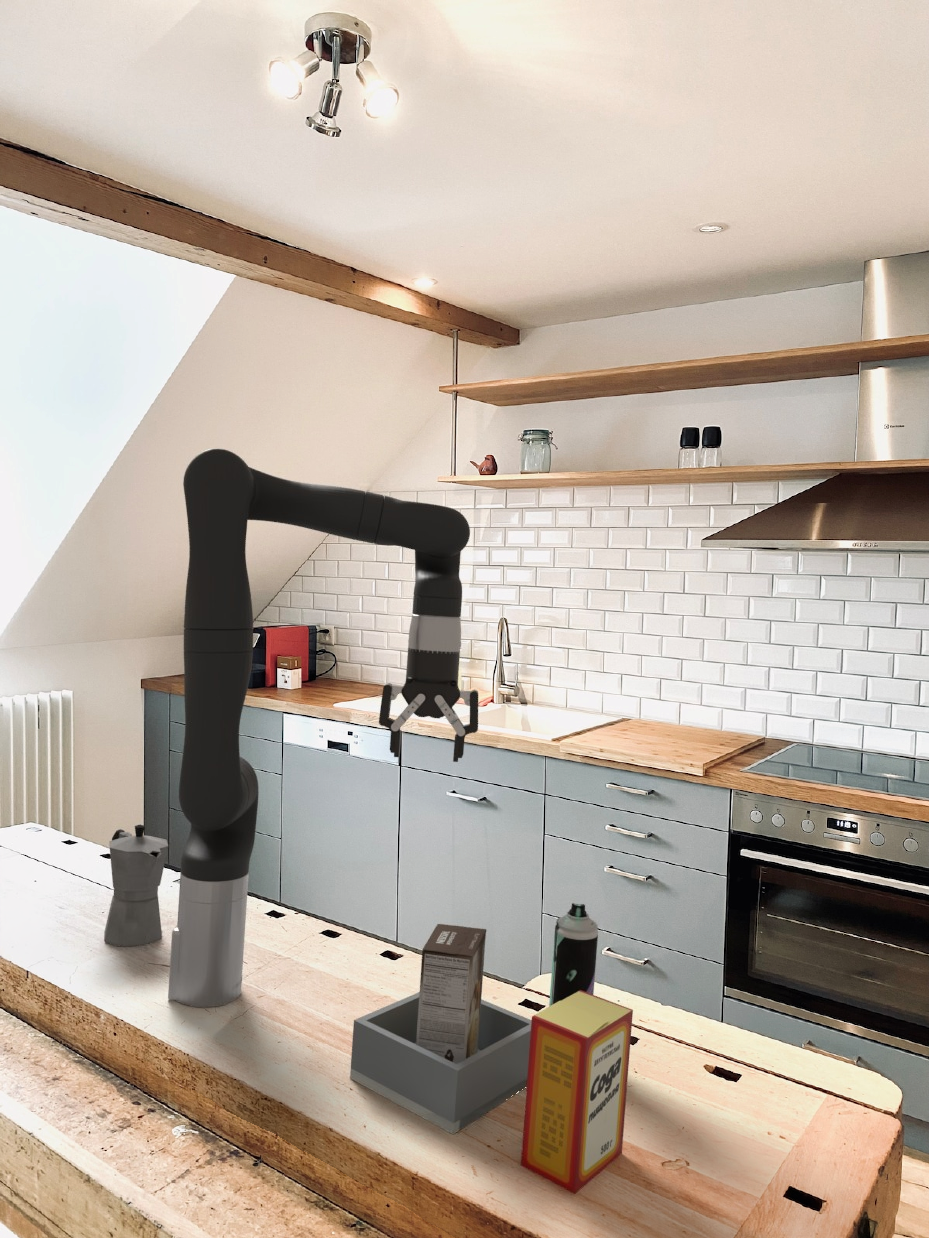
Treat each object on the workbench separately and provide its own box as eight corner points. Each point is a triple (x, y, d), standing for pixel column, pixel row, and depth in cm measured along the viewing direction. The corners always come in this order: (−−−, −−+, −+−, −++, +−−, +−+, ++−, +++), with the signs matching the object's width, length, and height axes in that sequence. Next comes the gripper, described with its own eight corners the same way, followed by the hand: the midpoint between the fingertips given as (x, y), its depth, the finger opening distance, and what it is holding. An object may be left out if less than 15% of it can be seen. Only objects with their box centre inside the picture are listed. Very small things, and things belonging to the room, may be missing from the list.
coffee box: (428, 1047, 119) (437, 921, 118) (478, 1055, 118) (487, 927, 117) (411, 1084, 110) (421, 947, 109) (465, 1092, 109) (475, 955, 108)
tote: (349, 1077, 112) (353, 1019, 112) (437, 1034, 125) (441, 982, 125) (453, 1133, 102) (457, 1070, 102) (537, 1080, 115) (541, 1024, 114)
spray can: (560, 1072, 117) (572, 913, 117) (537, 1051, 122) (548, 898, 121) (596, 1064, 120) (608, 909, 119) (572, 1044, 125) (583, 895, 124)
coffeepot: (180, 943, 149) (187, 830, 149) (122, 956, 143) (129, 838, 142) (137, 914, 160) (143, 809, 160) (81, 925, 154) (87, 815, 153)
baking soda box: (569, 1128, 105) (580, 986, 105) (621, 1153, 101) (633, 1006, 100) (520, 1165, 98) (532, 1012, 97) (574, 1193, 94) (586, 1035, 93)
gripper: (382, 645, 132) (374, 759, 133) (483, 652, 132) (475, 767, 133) (387, 642, 140) (380, 750, 140) (483, 649, 140) (475, 757, 140)
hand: (426, 758), depth 137 cm, fingers open, 8 cm apart
